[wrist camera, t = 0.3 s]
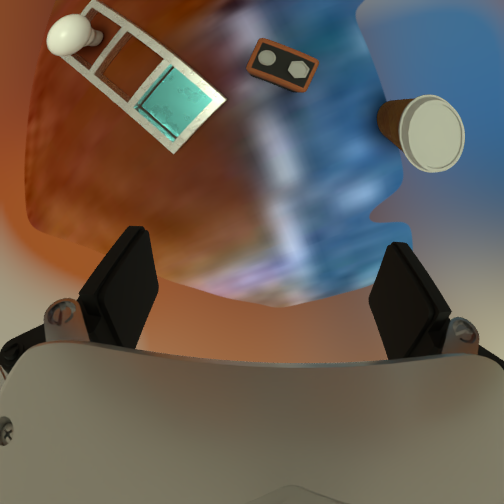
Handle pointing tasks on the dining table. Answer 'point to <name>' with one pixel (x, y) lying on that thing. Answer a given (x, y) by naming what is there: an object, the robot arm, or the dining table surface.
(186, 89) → the rail
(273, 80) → the battery
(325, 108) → the dining table surface
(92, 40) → the lightbulb
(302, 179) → the dining table surface
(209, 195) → the dining table surface
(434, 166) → the disposable coffee cup
